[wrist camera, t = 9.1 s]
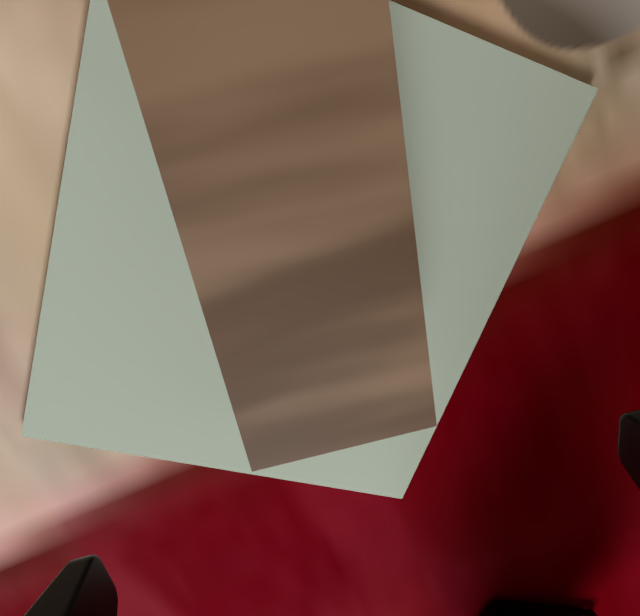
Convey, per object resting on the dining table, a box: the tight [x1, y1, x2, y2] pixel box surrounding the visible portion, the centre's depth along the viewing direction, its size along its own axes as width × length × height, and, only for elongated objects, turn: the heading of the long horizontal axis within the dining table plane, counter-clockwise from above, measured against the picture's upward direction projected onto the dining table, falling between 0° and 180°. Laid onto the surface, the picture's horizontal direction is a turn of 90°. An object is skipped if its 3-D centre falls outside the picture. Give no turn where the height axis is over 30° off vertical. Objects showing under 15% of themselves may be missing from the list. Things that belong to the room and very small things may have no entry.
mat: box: [21, 0, 598, 499], centre depth 18 cm, size 17×15×1 cm
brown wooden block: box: [107, 0, 437, 472], centre depth 16 cm, size 4×6×13 cm
